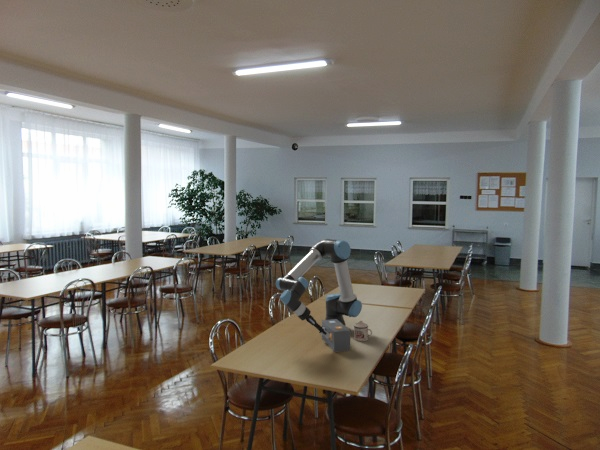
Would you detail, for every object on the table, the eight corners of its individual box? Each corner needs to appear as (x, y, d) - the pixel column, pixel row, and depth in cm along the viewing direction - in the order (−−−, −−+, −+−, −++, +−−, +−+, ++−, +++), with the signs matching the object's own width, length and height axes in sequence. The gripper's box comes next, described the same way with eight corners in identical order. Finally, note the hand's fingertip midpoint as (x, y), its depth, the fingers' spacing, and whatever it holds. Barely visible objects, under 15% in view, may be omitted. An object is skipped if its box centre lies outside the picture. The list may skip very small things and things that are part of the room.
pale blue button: (324, 333, 264) (324, 326, 263) (327, 335, 259) (327, 328, 259) (319, 333, 263) (319, 326, 263) (321, 335, 259) (321, 328, 258)
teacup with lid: (351, 340, 264) (351, 321, 264) (357, 335, 272) (357, 318, 272) (369, 343, 258) (369, 324, 258) (374, 338, 266) (374, 320, 266)
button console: (336, 337, 270) (336, 318, 269) (350, 350, 247) (350, 329, 246) (321, 338, 267) (321, 319, 267) (334, 352, 244) (334, 331, 243)
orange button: (335, 338, 253) (335, 331, 252) (337, 341, 249) (337, 334, 248) (329, 339, 252) (329, 332, 252) (332, 341, 248) (332, 334, 247)
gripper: (294, 313, 250) (321, 338, 255) (300, 319, 237) (328, 345, 242) (303, 303, 251) (329, 329, 256) (309, 309, 238) (336, 335, 243)
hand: (328, 336), depth 249 cm, fingers closed
